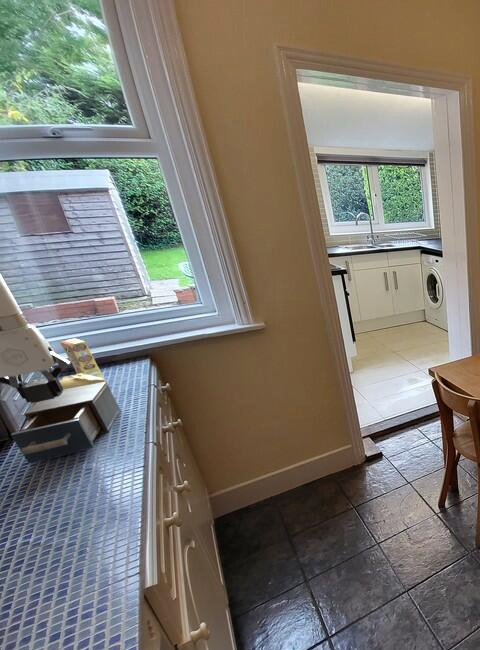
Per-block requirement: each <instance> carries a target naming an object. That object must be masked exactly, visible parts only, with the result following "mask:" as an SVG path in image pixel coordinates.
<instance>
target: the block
mask: <svg viewBox="0 0 480 650" xmlns="http://www.w3.org/2000/svg"><path fill="white" fill-rule="evenodd" d="M47 382H48V380H47V378H45V379H38V380H33V381H29V382H26V383H27V384H26V385H25V386H24V387H23V388H22V389H23V390H24V392H25V394H26V395H27V397H28V399H29V400H30V402H29V403H31V404H35V403H36V402H40V401H45V400H49V399H54V398H55V396H54V395H53V393H52V391H51V390H50V388H49V386H48V385H47Z"/></svg>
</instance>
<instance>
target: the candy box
mask: <svg viewBox="0 0 480 650" xmlns="http://www.w3.org/2000/svg"><path fill="white" fill-rule="evenodd" d="M60 345H61V347H62V349H63V350H64V352H65V354H66V356H67V358H68V360H69V361H70V364H71V365H72V367H73V369H74V370H75V372H76V374H79V373H84V374H87V375H90V376H94V377H100V378H103V379H104V380H105V381H106V379H105V377H104V375H103V373H102V371H101V369H100V368H99V366H98V364H97V362H96V360H95V357H94V356H93V354H92V352H91V350H90V348H89V346H88V344H87V342H86V341H84V340H81V339H78V338H71V339H67V340H62V341H60Z"/></svg>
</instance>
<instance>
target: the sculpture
mask: <svg viewBox="0 0 480 650" xmlns="http://www.w3.org/2000/svg"><path fill="white" fill-rule="evenodd" d="M104 379H105V378H104ZM104 379H103V378H100V377H94V376H90V375H87V374H84V373H79V374H77V373H75V374H73V375H68V376H62V377H61V379H60V380H59V382H60V383H61V385H62V387H63V390H65V389H70V388H75V387H80V386H85V385H91V384H96V383H101V382H107V381H106V379H105V380H104Z"/></svg>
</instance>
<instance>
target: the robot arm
mask: <svg viewBox="0 0 480 650" xmlns="http://www.w3.org/2000/svg"><path fill="white" fill-rule="evenodd" d="M55 364H58V365H57V366H56V367H54V365H55ZM70 364H71V361H70V360H69V359H66V358H64V357H62V356H60V355H59V354H57V353H56V352H55V351H54V349H53V347H52V345H51V344H50V343H49V341H48V340H47V339H46V338H45V336H44V335H43V334H42V332H40V331H39V329H38V328H37V327H36V326H35V324H30V323H29V322H28V320H27V318H26V316H25V314H24V313H23V311H22V310H21V308H20V306H19V304H18V302H17V300H16V298H15V297H14V295H13V293H12V292H11V290H10V288H9V287H8V285H7V283H6V281H5V280H4V278H3V275H2V274H1V273H0V383H2V384H5V385H8V386H10V387H12V388H14V389H16V391H17V392H18V394H19V396H20V398H21V399H23V400H25V401H26V402H27V403H31V402H30V400H29V399H28V397H27V395H26V394H25V392H24V390H23V389H22V388H23V387H24V386H25V385H26V384H27V383H28V382H25V381H24V378H23V375H26V374H32V373H38V372H40V373H41V374H42V375H43V377H45V379H47V380H48V382H47V385H48V386H49V388H50V390H51V391H52V393H53V395H54V396H55V397H58V396H60V395H61V394H62V393H63V392H62V391H63V387H62V385H61V383H60V382H59V381H60V380H59V376H60V374H61V373H62V372H63V371H64V370H65V369H66V368H67V367H68V366H70Z"/></svg>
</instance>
